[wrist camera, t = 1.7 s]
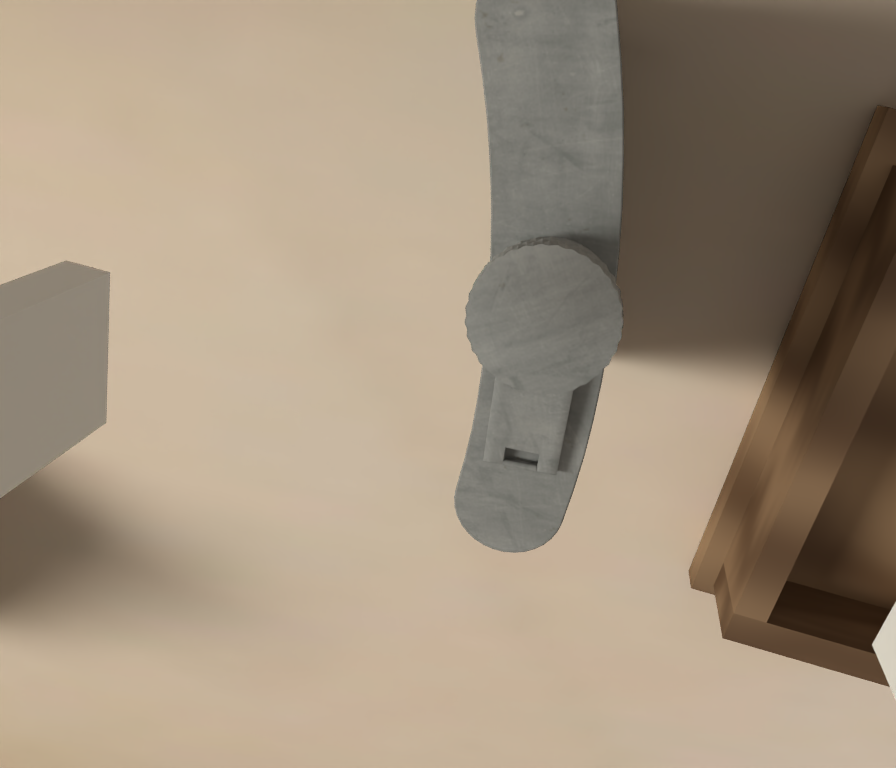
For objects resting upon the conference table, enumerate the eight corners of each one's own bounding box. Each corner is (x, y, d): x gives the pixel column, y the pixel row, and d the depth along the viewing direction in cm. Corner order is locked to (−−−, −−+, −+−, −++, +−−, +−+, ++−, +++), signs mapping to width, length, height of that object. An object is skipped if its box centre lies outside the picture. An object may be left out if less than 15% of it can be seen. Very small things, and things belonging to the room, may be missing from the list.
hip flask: (545, -9, 33) (456, -82, 15) (644, -7, 33) (675, -81, 15) (519, 347, 40) (434, 597, 21) (602, 355, 39) (586, 620, 21)
